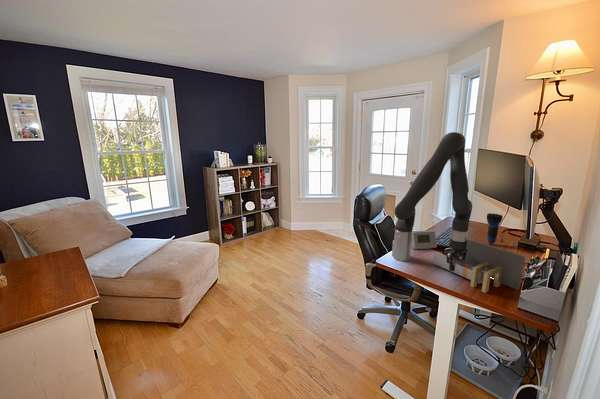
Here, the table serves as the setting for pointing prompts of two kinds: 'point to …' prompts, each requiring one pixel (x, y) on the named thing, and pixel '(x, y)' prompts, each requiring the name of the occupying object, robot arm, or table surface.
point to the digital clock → (424, 239)
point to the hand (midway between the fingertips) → (454, 269)
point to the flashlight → (493, 226)
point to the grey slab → (458, 267)
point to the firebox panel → (496, 261)
